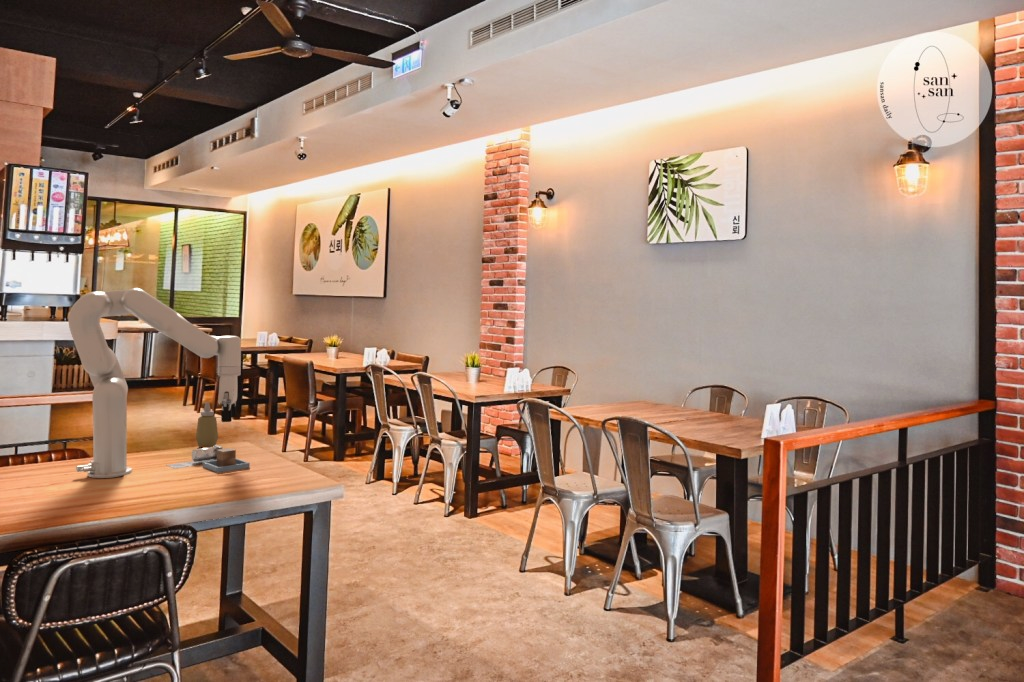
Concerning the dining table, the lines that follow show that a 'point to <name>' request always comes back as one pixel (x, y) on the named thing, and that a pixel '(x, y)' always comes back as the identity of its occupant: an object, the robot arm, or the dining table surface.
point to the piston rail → (188, 464)
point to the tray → (213, 466)
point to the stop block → (226, 457)
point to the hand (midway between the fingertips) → (228, 419)
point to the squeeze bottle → (207, 428)
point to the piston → (205, 453)
